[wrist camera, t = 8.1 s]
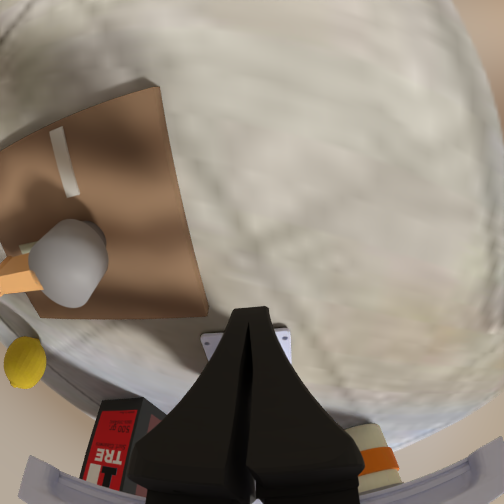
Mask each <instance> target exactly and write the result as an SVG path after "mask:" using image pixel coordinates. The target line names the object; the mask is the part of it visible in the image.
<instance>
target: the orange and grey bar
mask: <svg viewBox="0 0 504 504" xmlns="http://www.w3.org/2000/svg"><path fill="white" fill-rule="evenodd" d="M108 263H109V258H108V253H107V249H106V247H105V244H104V242H103V241H102V239H101V237H100V236H99V235H98V234H97V233H96V231H95V230H94V229H92V228H91V227H90V226H89V225H87V224H86V223H84V222H82V221H79V220H76V219H65V220H62V221H60V222H59V223H58V224H56V225H55V226H54V227H53V228H52V229H51V230H50V231H49V232H48V233H46V234H45V235H44V236H43V237H42V238H41V239H40V240H39V241H38V242H37V243H36V244H35V245H34V246H33V247H32V248H31V250H30V252H29V253H26V254H22V255H19V256H15V257H12V256H7V257H6V258H5V259H4V260H3V261H2V262H1V263H0V297H1V296H2V295H3V294H9V293H18V292H27V291H36V290H41V291H42V292H43V293H44V294H45V295H46V296H47V297H48V298H50V299H51V300H52V301H54V302H56V303H58V304H60V305H62V306H65V307H69V308H77V307H81V306H83V305H84V304H85V303H86V302H87V301H88V299H89V298H90V296H91V294H92V293H93V291H94V290H95V288H96V287H97V285H98V283H99V282H100V280H101V279H102V277H103V276H104V274H105V273H106V271H107V268H108Z"/></svg>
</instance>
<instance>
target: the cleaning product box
mask: <svg viewBox="0 0 504 504" xmlns="http://www.w3.org/2000/svg"><path fill="white" fill-rule="evenodd" d="M166 416H167V415H166V414H165V413H164V412H162V411H161V410H159V409H158V408H157V407H156V406H154V405H153V404H152V403H150V402H149V401H148V400H146V399H145V398H144V397H142V398H131V399H119V400H102V403H101V406H100V409H99V412H98V415H97V418H96V421H95V425H94V428H93V431H92V434H91V438H90V441H89V444H88V448H87V451H86V455H85V458H84V462H83V466H82V470H81V473H80V477H79V479H82V480H85V481H88V482H91V483H94V484H97V485H100V486H103V487H106V488H110V489H113V490H117V491H120V492H124V493H128V494H132V495H136V496H141V497H145V498H146V495H147V489H146V488H144V487H142V486H140V485H138V484H136V483H134V482H132V481H131V480H129V478H128V477H127V470H128V465H129V461H130V456H131V453H132V451H133V448H134V445H135V443H136V442H137V441H138V440H140V439H141V438H142V437H143V436H144V435H146V434H147V433H148V432H149V431H150V430H152V429H153V428H154V427H155V426H156V425H157V424H159V423H160V422H161V421H162V420H163V419H164V418H165V417H166Z"/></svg>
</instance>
